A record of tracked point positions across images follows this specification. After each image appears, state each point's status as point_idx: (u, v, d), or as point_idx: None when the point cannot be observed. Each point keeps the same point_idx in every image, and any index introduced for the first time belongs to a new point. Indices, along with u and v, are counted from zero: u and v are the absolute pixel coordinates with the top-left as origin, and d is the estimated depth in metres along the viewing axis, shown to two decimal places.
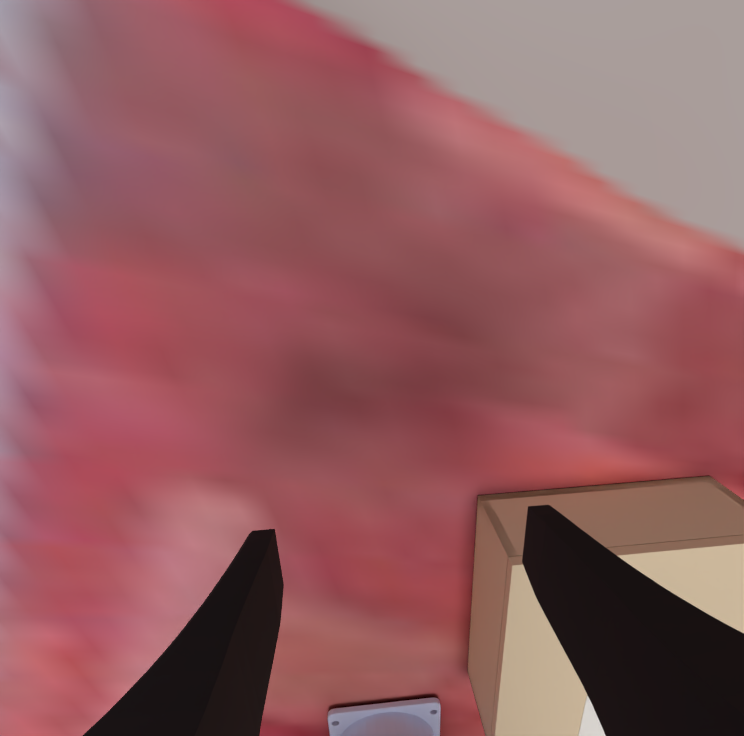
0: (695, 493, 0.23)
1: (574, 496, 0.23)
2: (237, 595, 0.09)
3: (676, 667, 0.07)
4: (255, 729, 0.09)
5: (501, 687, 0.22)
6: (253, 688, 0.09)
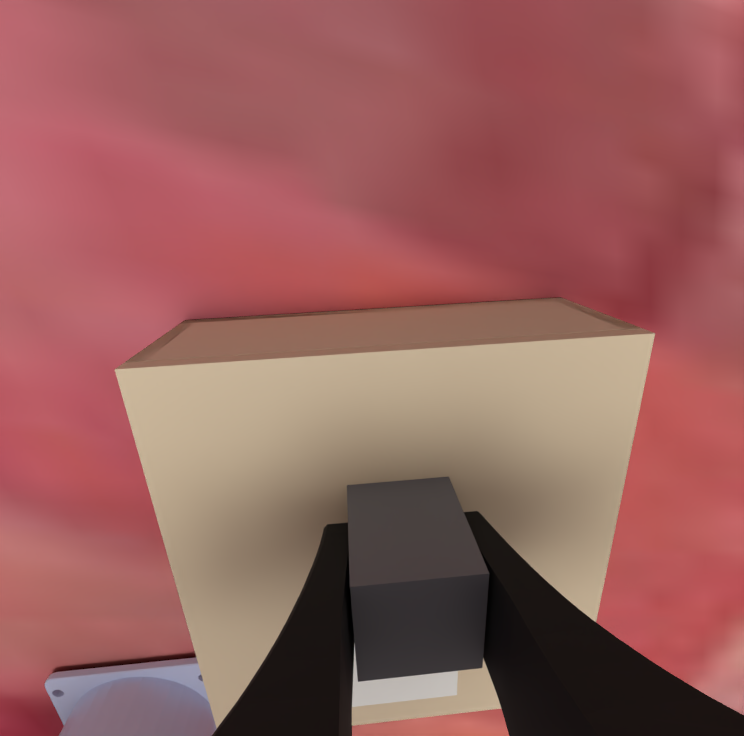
0: (523, 308, 0.14)
1: (331, 316, 0.15)
2: (333, 586, 0.09)
3: (554, 681, 0.07)
4: (350, 718, 0.09)
5: (188, 617, 0.13)
6: (348, 678, 0.09)
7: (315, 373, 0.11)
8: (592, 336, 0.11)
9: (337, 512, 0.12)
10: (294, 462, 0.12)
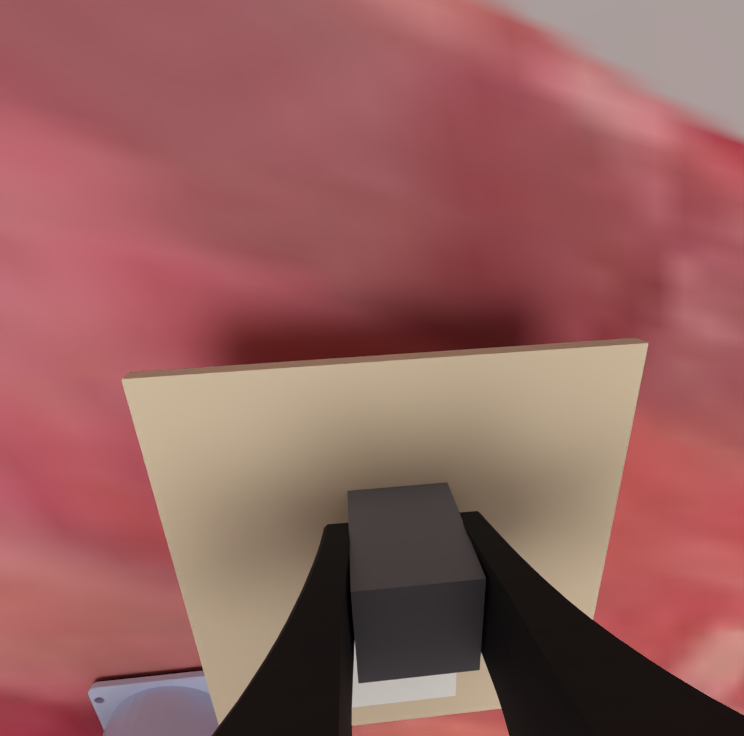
0: None
1: None
2: (333, 585, 0.09)
3: (554, 681, 0.07)
4: (350, 718, 0.09)
5: (191, 619, 0.14)
6: (348, 677, 0.09)
7: (316, 382, 0.11)
8: (587, 346, 0.11)
9: (338, 517, 0.13)
10: (296, 469, 0.12)
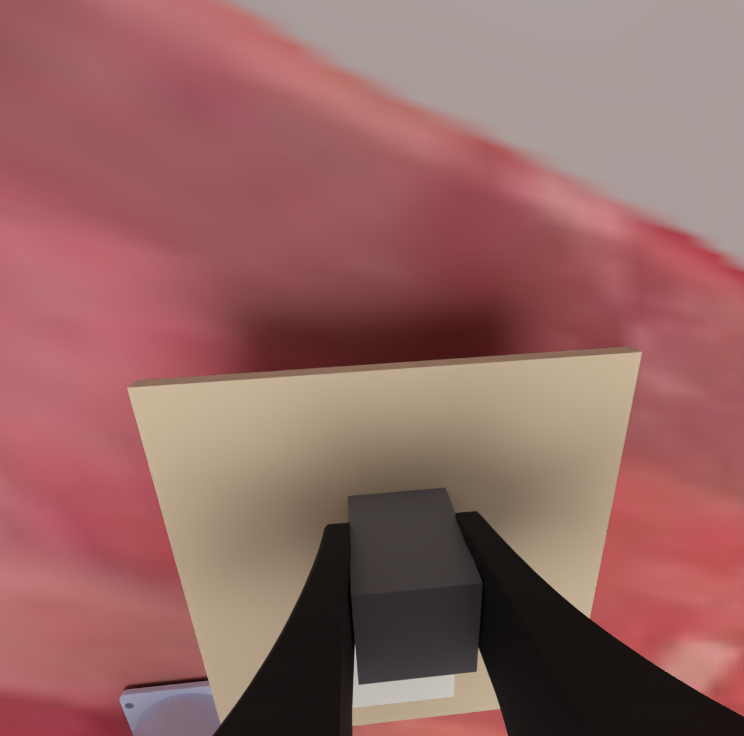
0: None
1: None
2: (334, 586, 0.09)
3: (552, 681, 0.07)
4: (350, 718, 0.09)
5: (195, 622, 0.14)
6: (348, 677, 0.09)
7: (317, 390, 0.11)
8: (581, 354, 0.12)
9: (339, 521, 0.13)
10: (297, 474, 0.12)
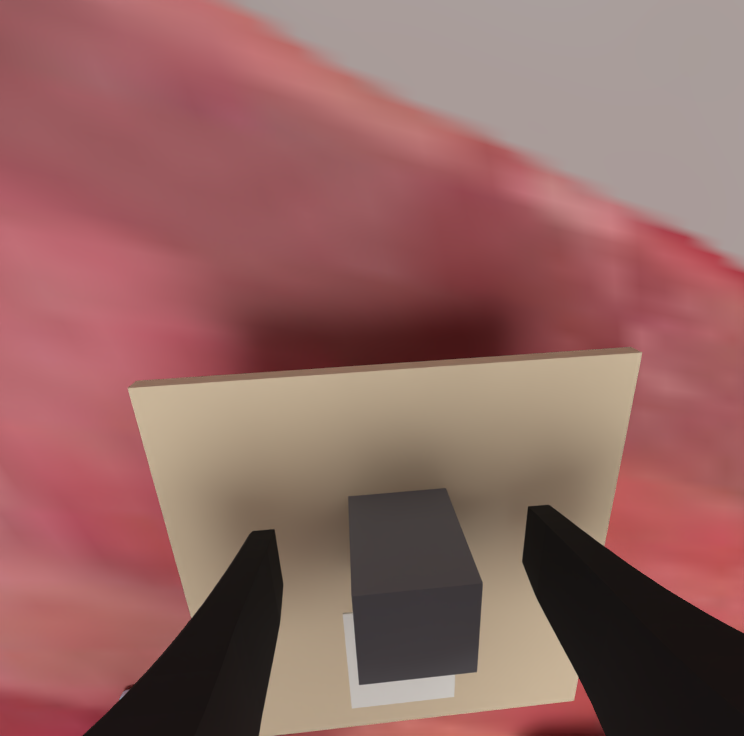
0: None
1: None
2: (237, 595, 0.09)
3: (676, 667, 0.07)
4: (255, 729, 0.09)
5: None
6: (253, 688, 0.09)
7: (318, 391, 0.11)
8: (582, 355, 0.12)
9: (339, 521, 0.13)
10: (298, 475, 0.12)
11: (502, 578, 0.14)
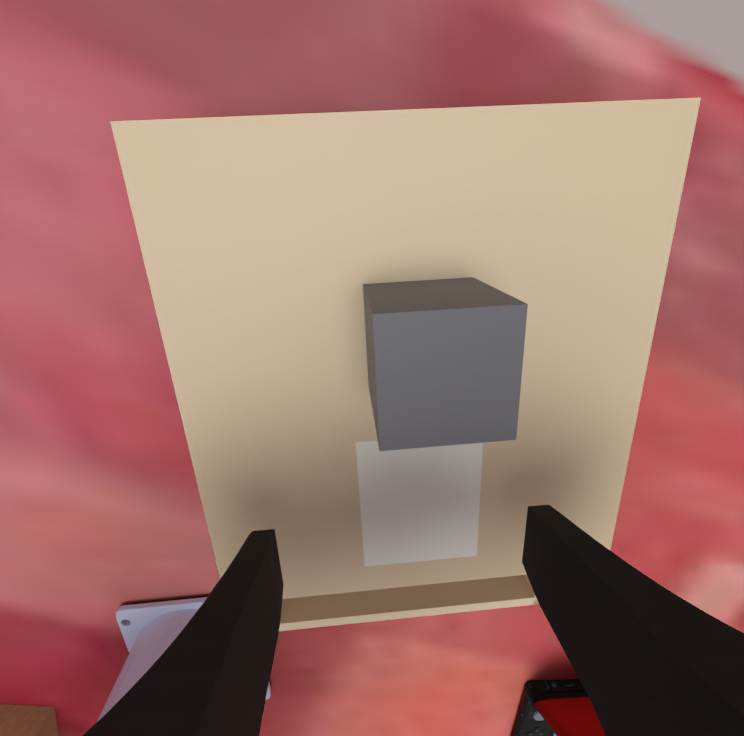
0: None
1: None
2: (237, 595, 0.09)
3: (676, 667, 0.07)
4: (255, 729, 0.09)
5: (192, 447, 0.12)
6: (253, 688, 0.09)
7: (329, 135, 0.10)
8: (631, 101, 0.10)
9: (353, 318, 0.11)
10: (306, 252, 0.11)
11: (533, 402, 0.13)
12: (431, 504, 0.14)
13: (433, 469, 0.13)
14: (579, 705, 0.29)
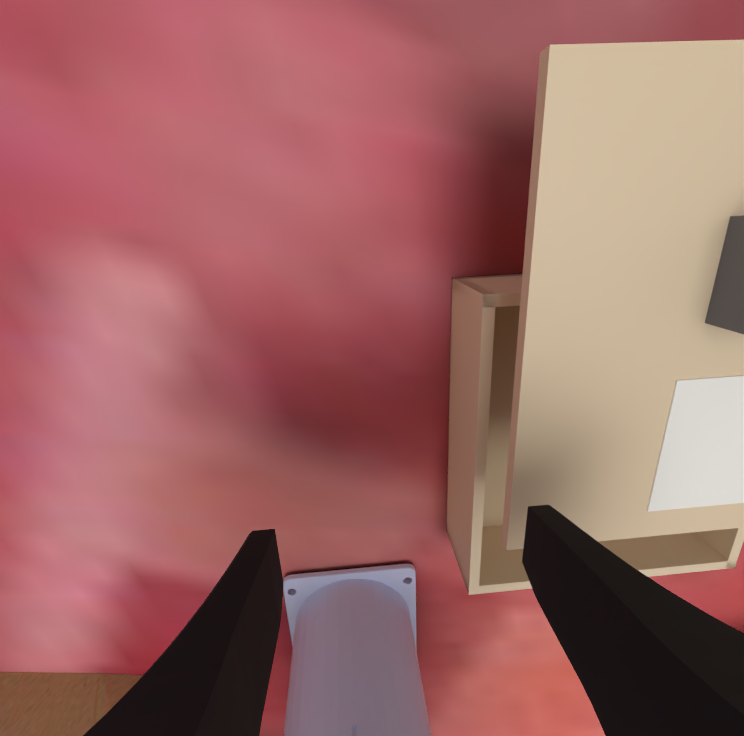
0: None
1: None
2: (237, 595, 0.09)
3: (677, 667, 0.07)
4: (255, 729, 0.09)
5: (524, 384, 0.13)
6: (253, 688, 0.09)
7: None
8: None
9: (710, 252, 0.12)
10: (688, 182, 0.11)
11: None
12: (726, 447, 0.14)
13: (740, 410, 0.13)
14: None
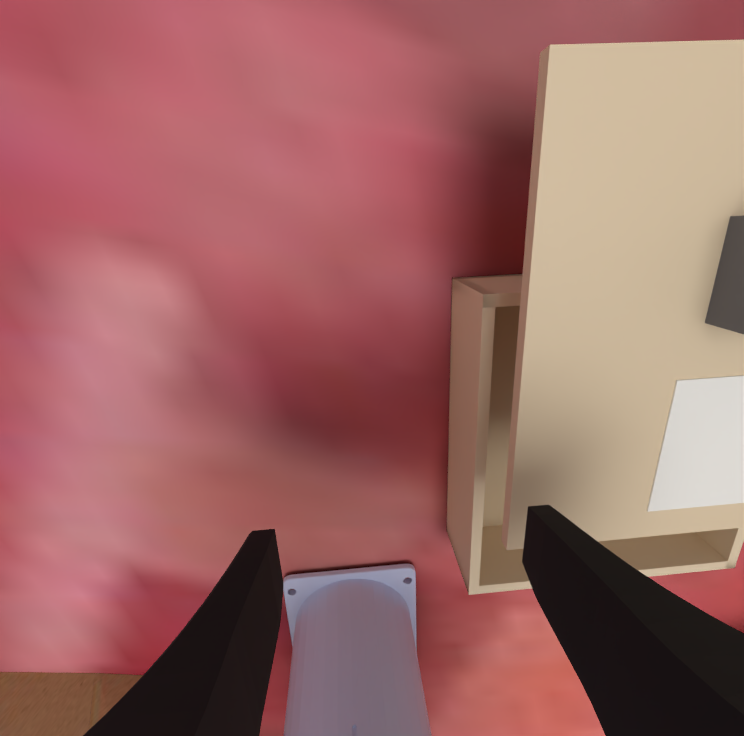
0: None
1: None
2: (237, 595, 0.09)
3: (677, 667, 0.07)
4: (255, 729, 0.09)
5: (524, 384, 0.13)
6: (253, 688, 0.09)
7: None
8: None
9: (710, 252, 0.12)
10: (688, 182, 0.11)
11: None
12: (726, 447, 0.14)
13: (740, 410, 0.13)
14: None
